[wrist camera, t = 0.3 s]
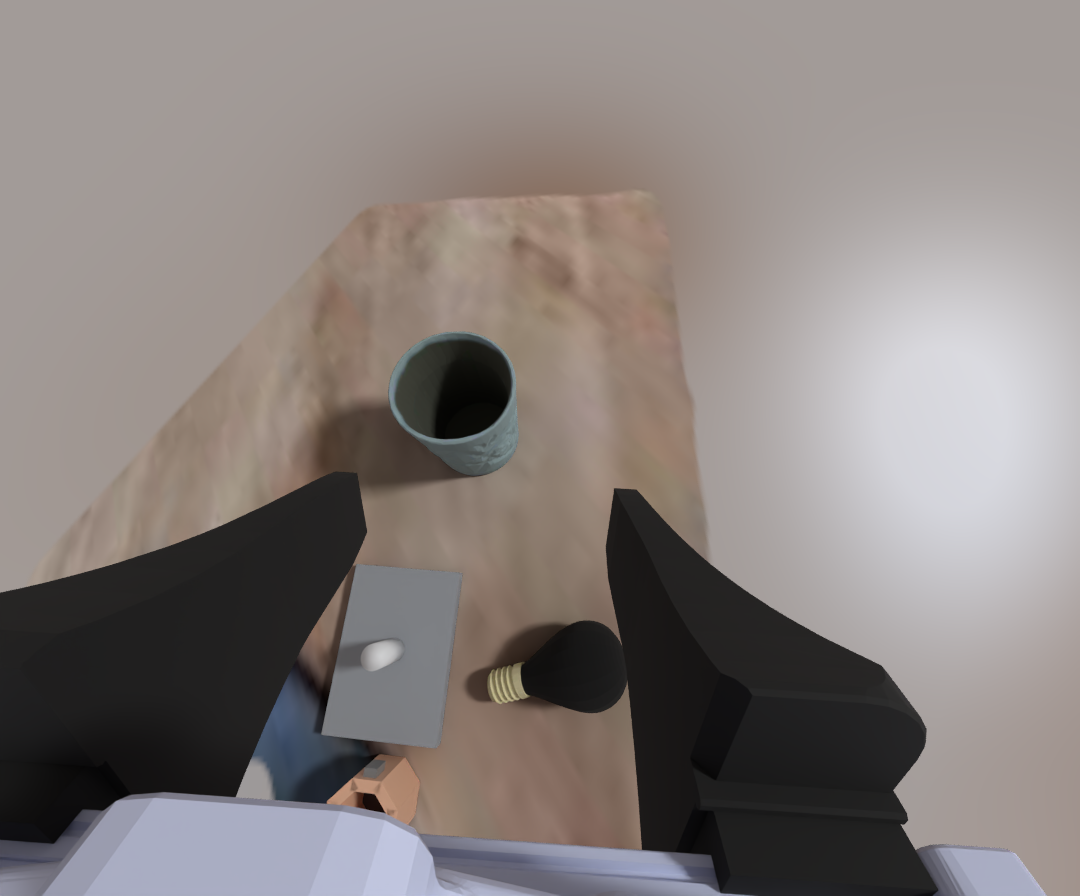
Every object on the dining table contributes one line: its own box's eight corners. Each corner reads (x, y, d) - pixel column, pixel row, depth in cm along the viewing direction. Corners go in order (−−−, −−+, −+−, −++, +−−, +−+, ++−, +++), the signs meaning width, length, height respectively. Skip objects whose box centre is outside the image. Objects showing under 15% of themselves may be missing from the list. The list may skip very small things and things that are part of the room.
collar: (411, 837, 34) (387, 876, 30) (347, 829, 35) (314, 865, 30) (424, 751, 36) (403, 774, 31) (363, 743, 36) (334, 766, 32)
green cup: (414, 438, 45) (362, 387, 34) (482, 375, 47) (455, 307, 36) (479, 502, 43) (446, 471, 31) (548, 433, 44) (541, 380, 33)
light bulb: (467, 718, 32) (621, 684, 29) (474, 632, 37) (605, 597, 35) (505, 745, 36) (644, 717, 33) (507, 664, 41) (626, 635, 38)
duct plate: (440, 743, 36) (419, 769, 31) (328, 730, 37) (290, 753, 32) (462, 573, 40) (447, 571, 35) (362, 564, 41) (333, 561, 36)
